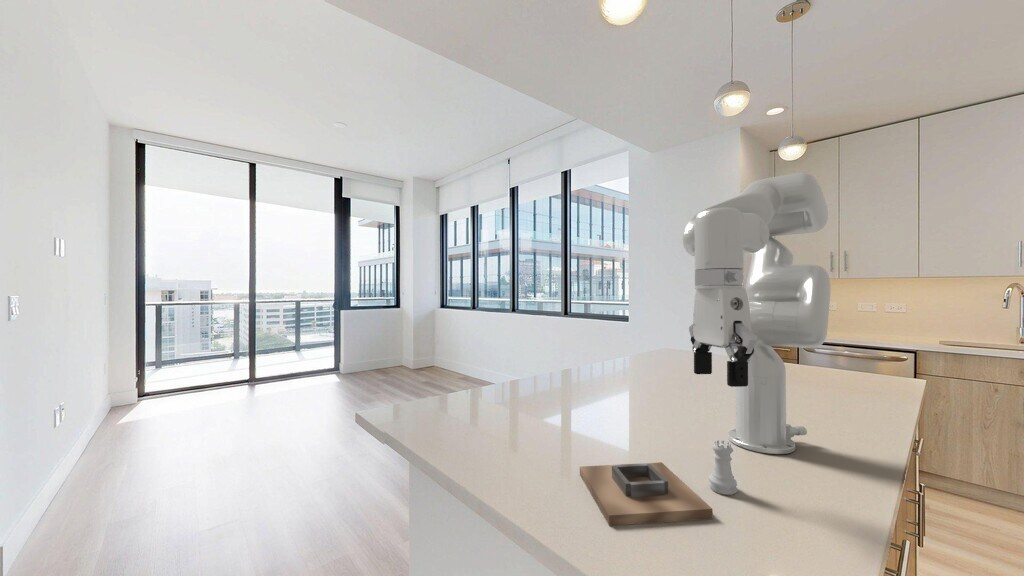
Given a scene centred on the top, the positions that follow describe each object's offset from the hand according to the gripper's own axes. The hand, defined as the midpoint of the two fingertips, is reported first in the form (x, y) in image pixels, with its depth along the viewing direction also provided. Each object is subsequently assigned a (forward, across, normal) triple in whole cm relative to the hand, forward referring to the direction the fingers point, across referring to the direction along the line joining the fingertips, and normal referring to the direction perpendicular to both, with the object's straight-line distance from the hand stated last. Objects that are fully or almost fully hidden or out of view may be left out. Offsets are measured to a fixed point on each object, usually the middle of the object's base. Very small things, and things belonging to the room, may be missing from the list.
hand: (719, 379), depth 68 cm
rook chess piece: (+19, 0, -1) cm, 19 cm away
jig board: (+19, 0, +14) cm, 24 cm away
